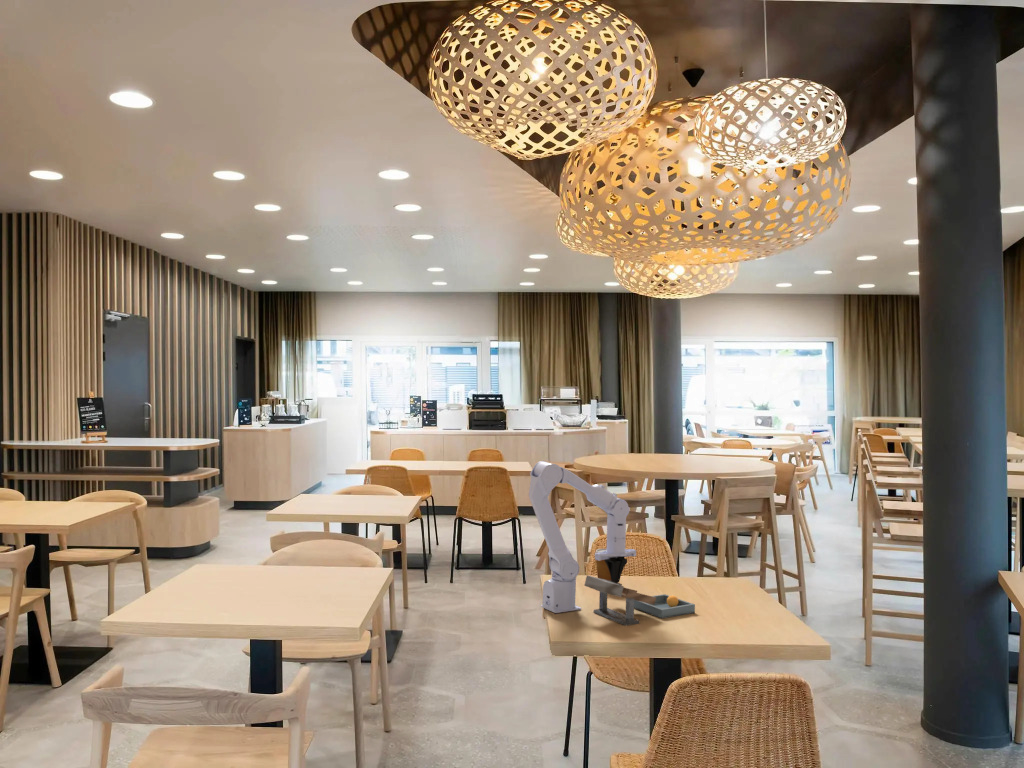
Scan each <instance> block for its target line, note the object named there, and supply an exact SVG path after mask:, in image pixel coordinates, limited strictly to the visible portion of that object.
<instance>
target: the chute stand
mask: <svg viewBox="0 0 1024 768" xmlns="http://www.w3.org/2000/svg"><path fill="white" fill-rule="evenodd" d="M598 600H599V602H598V607H599V608H596V609H593V613H594V614H596V615H598V616H601V617H603V618H606V619H608V620H610V621H613V622H614V623H615V622H616V623H618V624H620V625H623V626H632V625H639V624H640V620H639V619H636V618H634V617H635V616H634V615H635V608H634V599H633V598H631V597H630V598H625V613H621V612H619V611H616V610H614V609H612V608H609V607H608V594H606V593H603V592H600V591H599V599H598Z"/></svg>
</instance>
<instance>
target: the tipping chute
mask: <svg viewBox="0 0 1024 768" xmlns="http://www.w3.org/2000/svg"><path fill="white" fill-rule="evenodd" d="M583 586H585V587H587V588H590V589H593V590H594V591H596V592H597V591H598V592H599V593H600V592H603V593H606V594H607V595H611V596H615V597H618V598H624V599H626V598H630V597H631V598H633V599H634V600H636V601H641V602H645V603H649V604H653V605H655V601H656V597H652V596H653V595H649V594H648V595H647V594H643V593H641V592H640V593H639V592H638V590H635V589H631V588H627V587H624V586H623V584H622V583H620V582H618V583H616V582H613V581H610V580H608V581H607V580H604V579H600V578H598V577H595V576H593V575H586V577H585V582H584V584H583Z"/></svg>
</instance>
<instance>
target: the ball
mask: <svg viewBox="0 0 1024 768" xmlns="http://www.w3.org/2000/svg"><path fill="white" fill-rule="evenodd" d="M678 599H679V598H678V597H677V596H676V595H669V597H668V598H667V604H668V606H670V607H676V606H677V605H678V602H679V601H678Z"/></svg>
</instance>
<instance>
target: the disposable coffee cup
mask: <svg viewBox="0 0 1024 768" xmlns="http://www.w3.org/2000/svg"><path fill="white" fill-rule="evenodd" d="M606 550H607V548H598V549H596V550H595V553H599V552H603V551H606ZM595 553H594V556H595ZM595 563H596V565H595V566H596V575H597V578H600V579H604V580H607V581H608V580H610V581H611V576H610V572H609V569H608V567H607V564H606V562H605V561H604V560H601V561H598V560H595ZM617 583H619V582H617Z"/></svg>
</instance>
